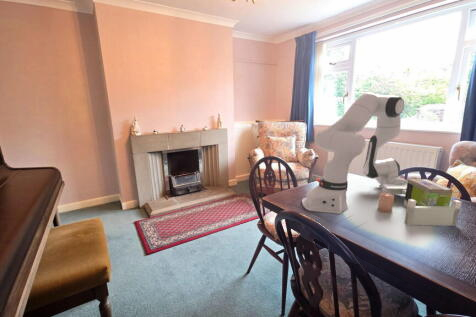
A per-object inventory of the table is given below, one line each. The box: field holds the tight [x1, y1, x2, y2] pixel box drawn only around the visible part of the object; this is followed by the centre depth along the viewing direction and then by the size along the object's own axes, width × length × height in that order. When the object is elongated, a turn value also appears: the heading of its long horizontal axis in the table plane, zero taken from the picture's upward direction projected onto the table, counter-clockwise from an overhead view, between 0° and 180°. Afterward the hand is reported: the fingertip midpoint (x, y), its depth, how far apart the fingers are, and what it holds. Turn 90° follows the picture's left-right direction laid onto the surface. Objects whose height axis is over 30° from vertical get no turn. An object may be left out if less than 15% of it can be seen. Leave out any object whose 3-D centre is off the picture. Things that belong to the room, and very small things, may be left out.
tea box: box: [403, 178, 454, 208], centre depth 108 cm, size 15×10×15 cm, turn 176°
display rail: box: [404, 199, 462, 227], centre depth 98 cm, size 20×2×11 cm, turn 86°
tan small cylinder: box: [377, 192, 395, 214], centre depth 112 cm, size 6×6×8 cm
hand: (412, 194), depth 116 cm, fingers closed
